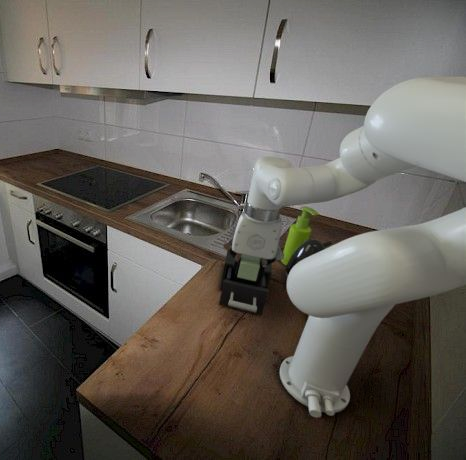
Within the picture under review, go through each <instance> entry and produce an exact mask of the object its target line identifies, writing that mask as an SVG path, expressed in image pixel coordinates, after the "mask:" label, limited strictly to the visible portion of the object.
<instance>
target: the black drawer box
mask: <svg viewBox="0 0 466 460" xmlns="http://www.w3.org/2000/svg"><path fill="white" fill-rule="evenodd" d="M231 246H232V245H231ZM260 260H262V258H260ZM234 262H235V260H234V258H233V257H232V255H231V254H230V253H229V251H227V250H226V255H225V260H224V266H223V271H222V276H221V279H220V286H219V291H222V287H223V281H224V279H225V280H226V279H227V274H228V269H229V266H231V267H234ZM272 264H273V263H271V264H269V265H267V267H265V269H264V274H266V286H265V289H269V284H270V279H271V277H272V274H273V268H272V267H273V266H272Z"/></svg>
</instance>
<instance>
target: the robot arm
mask: <svg viewBox="0 0 466 460" xmlns="http://www.w3.org/2000/svg"><path fill="white" fill-rule="evenodd" d="M415 167H419V168H422V169H425V170H428V171H430V172H435V173H436V174H440V175H443V176H446V177H449V178H451V179H456V180H458V181H461V182H464V183H466V76H421V77H415V78H410V79H408V80H404V81H402V82H400V83H398V84H397V83H396V84H395V85H393V86H392V87H390V88H389V89H386V91H384V92H383V93H381V94H380V95H379V96H378V97H377V98H376V99H375V101H373V103H372V104H371V105H370V107H369V109H368V110H367V112H366V115H365V118H364V121H363V125H362V126H360V127H358V128H356V129H354V130H352V131H351V132H349V133H348V134H347V135H345V136H344V138H343V139H342V140H341V143H340V147H339V157H338V158H336V159H334V160H331V161H329V162H327V163H324V164H320V165H309V166H297V167H293V164H292V162H291V161H289V160H288V159H286V158H284V157H279V156H263V157H259V158H258V159H257V160H256V161H255V164H254V167H253V172H252V177H251V182H250V186H249V191H248V195H247V200H246V201H245V202H240V203H239V209H241V210H243V211H242V212H241V214H240V216H239V218H238V221H237V224H236V227H235V231H234V234H233V236H231V237H230V238H228V239H227V240H226V241H224V243H223V244H222V245H223V246H222V247H223V248H224V249H225V250H226V252H227V251H229V253H230V254H231V255H232V257H233V258H234V260H235V262H234V267H233V269H234V270H236V271H235V274H236V275H237V274H238V272H239V267H240V263H241V256H242V254H243V255H248V256H253V257H258V258H262V260H260V268H259V271H258V275H257V279H258V280H259V278H260V275H262V276H263V273H264V269H265V267H267V265H269V264H273V263H275V262H277V261H281V259H284V254H283V250H282V249H281V246H280V239H281V235H282V227H283V221H282V218H281V217H280V215H281V212H282V209H283V207H295V206H303V205H309V204H319V203H325V202H330V201H335V200H337V199H340V198H343V197H345V196H349V195H352V194H354V193H358V192H360V191H363V190H364V189H367V188H368V187H370V186H371V185H373V184H375V183H376V182H377V181H379V180H382V179H384V178H387V177H390V176H393V175H395V174H398V173H401V172H403V171H407V170H409V169H413V168H415ZM231 245H232V246H231ZM464 286H466V206H465V207H463V208H461V209H458V210H456V211H453V212H451V213H448V214H445V215H443V216H441V217H438V218H435V219H432V220H429V221H425V222H422V223H418V224H412V225H411V224H410V225H405V226H399V227H391V228H385V229H379V230H374V231H373V230H372V231H367V232H363V233H360V234H357V235H354V236H351V237H349V238H346V239H343V240H341V241H339V242H337V243H335V244H333V245H330V246H327V247H325V249H324V250H322V251H320V252H318V253H316V254H313V255H311V256H309V257H307V258H305V259H303V260H301V261H300V262H298V263H297V264H296V265H295V266H294V267H293V268H292V269H291V271H290V273H289V275H288V278H287V277H286V292H287V296H288V297H289V300H290V301H291V303H292V304H293V305H294V306H295V307H296V308H297V309H298V310H299V311H300V312H302V313H304V314H306V315H307V320H306V323H305V325H304V328H303V331H302V333H301V336H300V337H299V338H300V339H299V341H298V344H297V346H296V349H295V351H294V354H293V355H290V356H288V357H286V358H285V359H284V360H283V361H282V363H281V364H280V366H279V378H280V380H281V383H282V386H284V388H285V390H287V392H288V393H289V394H290V395H291V396H292V397H293V398H294V399H295V400H296V401H298V402H299V403H301V404H302V405H303V406H306V407H307V408H308V414H309V415H310V416H311V417H312V418H315V419H318V418H321V417H322V413H325V414H326V415H327V416H330V417H333V416H335V414H336V413H340V412H342V411H344V410H345V409H346V407H348V405H349V402H350V399H351V393H350V389H349V386H348V385H347V384H348V382H349V380H350V378H351V376H352V375H353V373H354V370H355V369H356V367H357V365H358V363H359V361H360V359H361V358H362V355H363V353H364V352H365V350H366V348H367V346H368V344H369V343H370V341H371V339H372V337H373V336H374V333H375V332H376V330H377V328H378V327H379V326H380V324H381V323H382V321H383V320H384V319H385V317H386V316H387V315H388V314H389V313H390V312H391V311H392V310H393V308H394V307H395V306H396V305H399V304H403V303H407V302H412V301H416V300H421V299H425V298H430V297H433V296H438V295H441V294H444V293H447V292H450V291H452V290H455V289H458V288H461V287H464ZM308 315H309V317H308Z"/></svg>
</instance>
